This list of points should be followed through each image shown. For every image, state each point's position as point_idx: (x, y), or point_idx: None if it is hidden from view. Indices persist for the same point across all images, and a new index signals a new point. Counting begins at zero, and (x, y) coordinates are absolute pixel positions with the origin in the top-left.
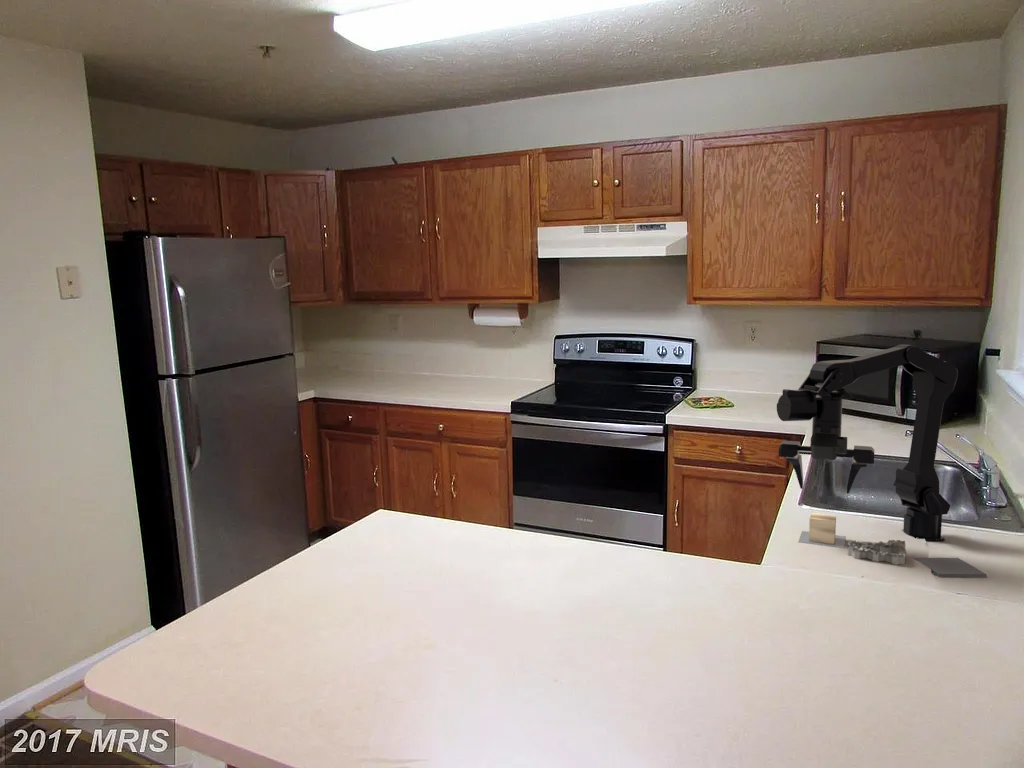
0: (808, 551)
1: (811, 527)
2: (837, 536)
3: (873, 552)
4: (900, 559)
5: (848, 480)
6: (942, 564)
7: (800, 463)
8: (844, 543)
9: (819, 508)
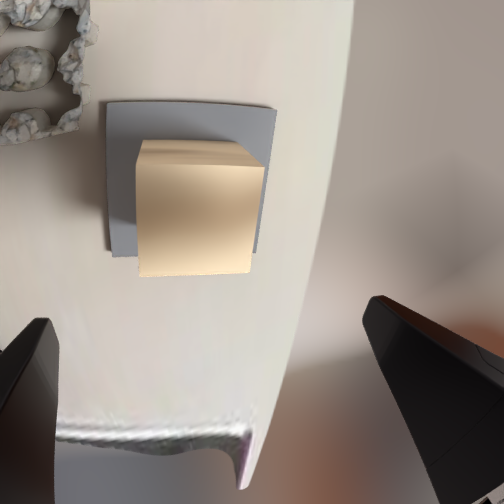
0: (239, 45)
1: (242, 154)
2: (137, 243)
3: (8, 4)
4: None
5: (2, 399)
6: None
7: (498, 434)
8: (106, 168)
9: (209, 432)
